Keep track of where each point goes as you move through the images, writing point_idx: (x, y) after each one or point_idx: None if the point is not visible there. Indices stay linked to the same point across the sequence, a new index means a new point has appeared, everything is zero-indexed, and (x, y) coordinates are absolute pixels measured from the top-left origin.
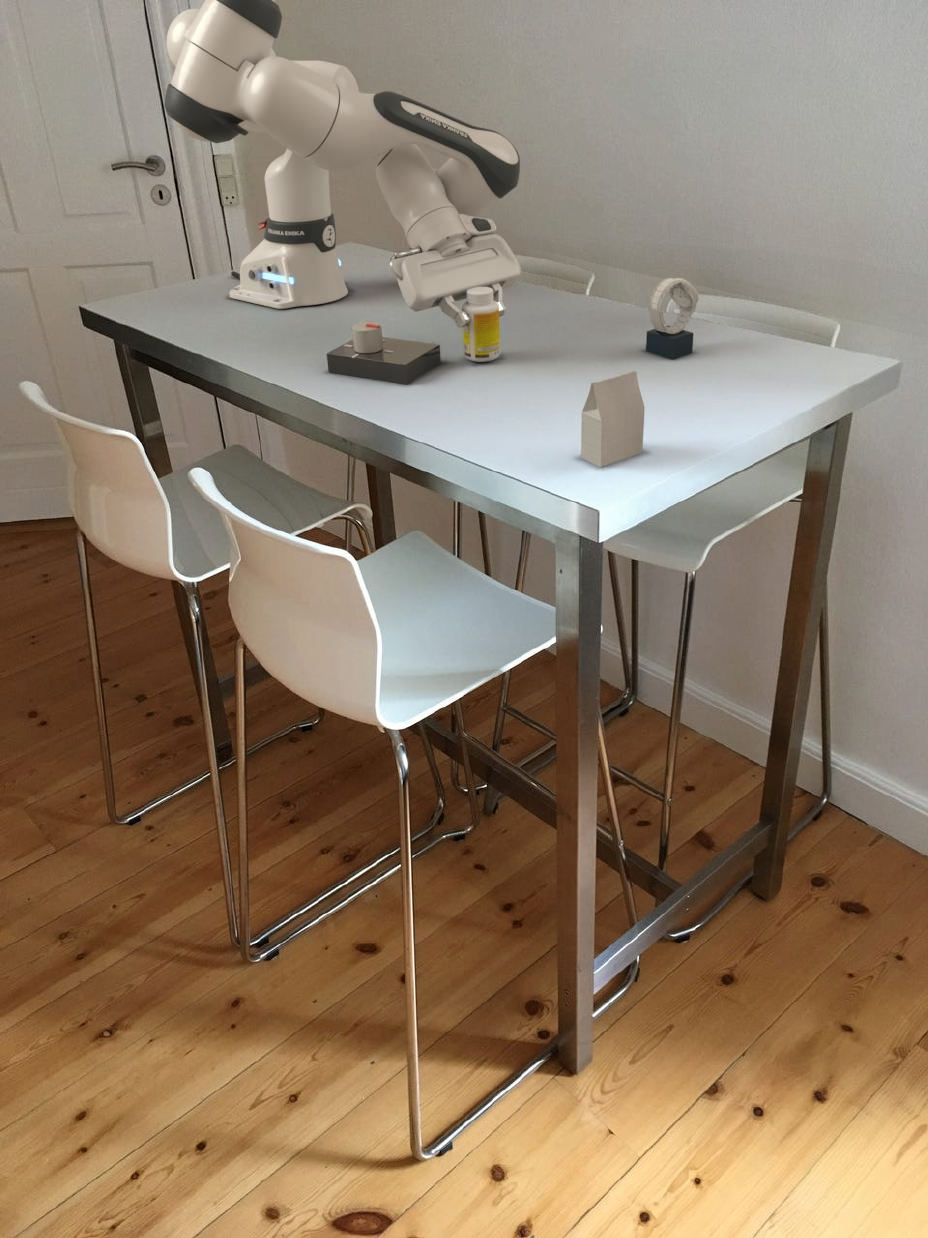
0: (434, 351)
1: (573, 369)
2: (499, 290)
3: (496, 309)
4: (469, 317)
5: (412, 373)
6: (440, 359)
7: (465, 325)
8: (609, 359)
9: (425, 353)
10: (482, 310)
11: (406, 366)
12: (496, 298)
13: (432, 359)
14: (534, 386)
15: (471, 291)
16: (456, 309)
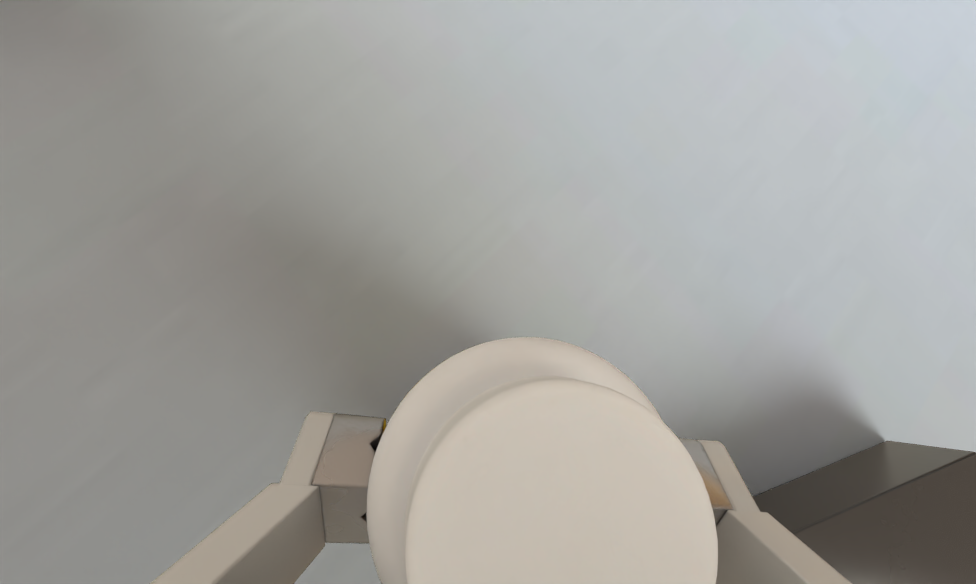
0: None
1: (336, 71)
2: (201, 581)
3: (482, 344)
4: None
5: (877, 460)
6: None
7: None
8: (150, 34)
9: (821, 518)
10: (616, 370)
11: (960, 452)
12: (280, 551)
13: None
14: (564, 71)
15: (673, 579)
16: (779, 537)
